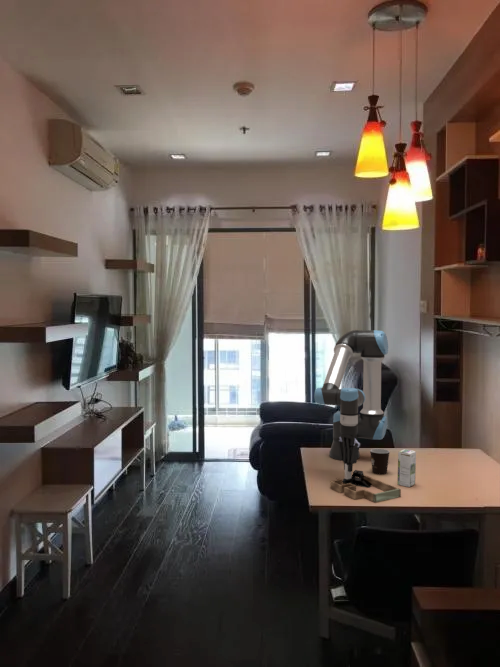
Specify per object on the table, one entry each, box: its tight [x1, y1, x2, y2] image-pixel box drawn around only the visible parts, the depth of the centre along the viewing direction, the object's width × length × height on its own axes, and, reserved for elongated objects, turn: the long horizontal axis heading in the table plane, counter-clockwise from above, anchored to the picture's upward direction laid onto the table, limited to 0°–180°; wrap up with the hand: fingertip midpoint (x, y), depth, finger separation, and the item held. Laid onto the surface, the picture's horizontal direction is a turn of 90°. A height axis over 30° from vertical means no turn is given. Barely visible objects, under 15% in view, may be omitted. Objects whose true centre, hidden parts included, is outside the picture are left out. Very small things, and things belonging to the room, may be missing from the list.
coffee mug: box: [369, 448, 390, 475], centre depth 250 cm, size 12×9×10 cm
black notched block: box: [342, 469, 372, 488], centre depth 233 cm, size 12×7×5 cm, turn 59°
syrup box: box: [396, 448, 417, 488], centre depth 231 cm, size 6×6×14 cm
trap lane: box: [329, 474, 402, 503], centre depth 222 cm, size 24×18×3 cm
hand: (348, 478), depth 232 cm, fingers closed
